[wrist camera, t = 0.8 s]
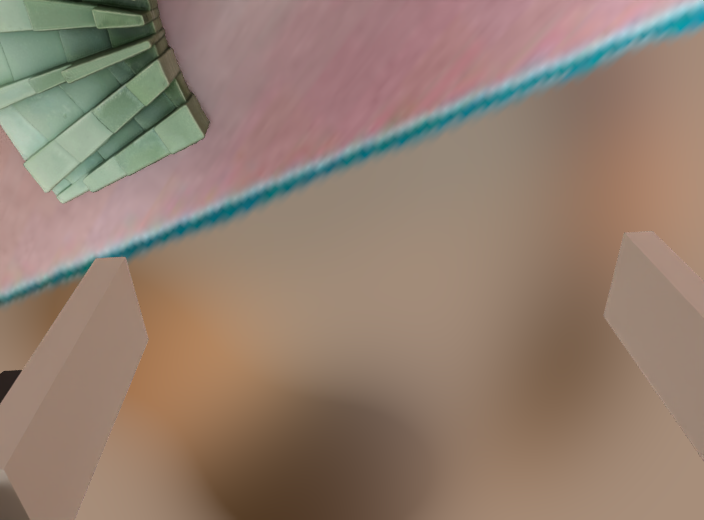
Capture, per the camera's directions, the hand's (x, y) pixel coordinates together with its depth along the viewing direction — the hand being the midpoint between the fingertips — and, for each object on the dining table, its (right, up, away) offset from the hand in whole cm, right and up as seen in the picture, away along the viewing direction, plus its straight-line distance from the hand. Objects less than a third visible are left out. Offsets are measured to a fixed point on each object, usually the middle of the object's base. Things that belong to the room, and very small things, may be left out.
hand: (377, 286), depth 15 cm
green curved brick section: (-18, +16, +19) cm, 31 cm away
